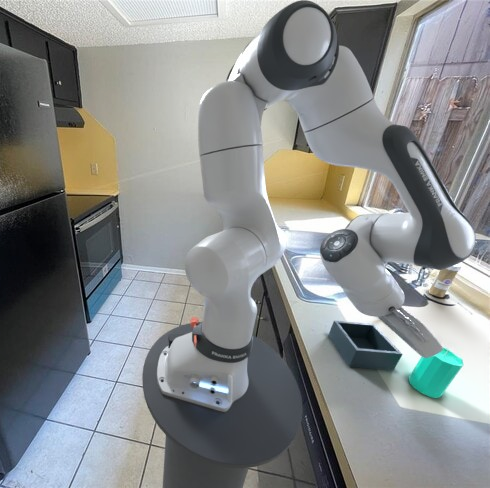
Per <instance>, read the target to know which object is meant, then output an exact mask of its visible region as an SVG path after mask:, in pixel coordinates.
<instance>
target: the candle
mask: <svg viewBox="0 0 490 488" xmlns="http://www.w3.org/2000/svg"><path fill="white" fill-rule="evenodd" d="M463 366H464V362H463V358H461V357H460V356H458V355H457V354H455V353H454V352H452V351H451V350H449V349H448V348H446V347H443V350H442V351H441V352H440V353H438V354H436V355H434V356H432V357H429V358H424V357H422V356H420V358H419V360H418V362H417V363H416V365H415V367H414V368H413V369H412V371H411V373H410V374H409V376H408V382H409V384H410V385H411V386H412V387H413V388H414V389H415V390H416V391H418V392H419V393H421V394H423V395H424V396H427V397H429V398H433V399H434V398H435V399H439V398H441V397H442V396H443V394H444V393H445V392H446V390H447V389H448V388H449V386H450V384H452V381H454V379H455V378H456V376H457V375H458V373H459V372H460V371H461V369H462V368H463Z"/></svg>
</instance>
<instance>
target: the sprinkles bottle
mask: <svg viewBox="0 0 490 488" xmlns="http://www.w3.org/2000/svg"><path fill="white" fill-rule="evenodd" d="M461 268H462V266H461V265H460V264H459V263H458V264H456V265H454V266H452V267H449V268H446V269H443V270H438V273H437V274H436V277H435V278H434V279H433V282H432V283H431V286H430V288H429V290H428V293H429V294H430V295H432V296H433V297H434V296H435V297H437V298H444V297H445V295H446V293H447V291H448V290H449V289H450V287H451V285H452V283H453V281H454V279H455V278H456V276H457V274H458V272H460V270H461Z"/></svg>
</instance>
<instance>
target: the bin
mask: <svg viewBox="0 0 490 488" xmlns="http://www.w3.org/2000/svg"><path fill="white" fill-rule="evenodd" d="M327 336H328V338H329V339H330V341H331V342H332V344H333V345H334V347H335V348H336V350H337V351H338V352H339V355H340V356H341V357H342V358H343V360H344V361H345V363H346V364H347V366H348V367H349V368H361V369H371V370H382V371H391V372H394V370H395V369H396V367H397V365H398V363H399V362H400V360H401V358H402V356H403V353H402V352H401V351H400V349H398V348H397V347H396V346H395V344H394V343H392V341H391V340H390V339H388V337H387V336H386V335H385V334H384V333H383V332H382V331H381V330H380V329H379V328H378V327H377V325H375V324H374V323H368V322H355V321H343V320H333V322H332V324H331V327H330V330H329V333H328V334H327Z"/></svg>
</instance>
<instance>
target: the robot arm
mask: <svg viewBox="0 0 490 488" xmlns="http://www.w3.org/2000/svg"><path fill="white" fill-rule="evenodd" d="M335 26H336V25H335V23H334V22H333V20H332V18H331V16H330V15H329V13H328V12H327V11H326V10H325V8H323V7H321V5H319V4H318V3H316V2H314V1H311V0H297V1H294V2H292V3H290V4H288V5H286V6H285V7H283V8H282V9H280V10H279V11H278V12H276V13H275V14H274V15H273V16H272V17H271V18H270V19H269V20H268V21H267V22H266V23H265V24H264V26H263V28H262V29H261V30H260V31H259V32H258V33H257V34H256V35H255V37H253V39H252V40H250V41H249V42H248V44H247V45H246V46H245V47H244V49H243V50H242V52H241V53H240V55H239V56H238V58H237V60H236V61H235V62H234V64H233V65H232V66H231V68H230V70H229V72H228V74H227V77H226V80H225V81H222V82H218V83H216V84H215V85H213V86H211V87H210V88H209V89H207V90H206V91H205V93H204V94H203V95H202V97H201V99H200V102H199V105H198V115H197V116H198V117H197V142H198V155H199V164H200V165H199V166H200V173H201V182H202V189H203V190H202V191H203V197H204V199H205V201H206V202H207V203H208V204H209V205H210V206H212V207H213V208H215V210H216V211H217V214H218V215H219V217H220V220H221V222H222V227H223V230H221V231H219V232H216V233H213V234H211V235H208V236H206V237H205V238H203V239H202V240H200V241H199V242H198V243H196V244H195V245H194V246H193V247H192V248H191V249H189V250H188V252H187V254H186V256H185V260H184V271H185V272H184V273H185V277H186V278H187V280H188V283H189V284H190V285H191V287H192V288H193V289H194V290H195V291H196V292H197V293H198V294H200V295H202V297H203V313H202V321H200V320H199V318H198V317H197V316H192V317H191V318H190V323H191V327H192V328H193V331H192V332H191V333H188V334H185V335H184V334H169V339H168V341H169V346H167V347H166V348H165V349H164V350H163V351H162V353H161V355H160V358H159V361H158V367H157V382H158V386H159V389H160V391H161V392H162V394H164V395H167V396H171V397H174V398H177V399H181V400H184V401H188V402H191V403H194V404H198V405H201V406H205V407H208V408H211V409H215V410H218V411H222V412H226V411H228V410H229V408H230V407H231V405H232V403H233V402H234V401H235V400H237V399H239V398H240V397H242V396H243V395H244V394H245V392H246V390H247V388H248V382H249V381H248V374H247V360H248V357H249V355H250V352H251V349H252V344H253V336H252V335H253V332H254V327H255V323H256V319H257V315H258V305H257V303H256V301H255V300H254V299H253V297H252V295H251V293H252V288H253V286H254V283H255V282H256V281H257V279H258V278H259V277H260V276H261V275H263V274H265V273H266V272H267V271H269V270H270V269H272V268H273V267H274V266H276V265H277V264H278V262H279V261H280V259H281V258H282V257H283V255H284V253H285V252H286V249H287V244H288V241H287V235H286V233H285V231H284V230H283V229H282V227H281V226H280V225H278V224H277V221H276V219H275V216H274V214H273V213H274V212H273V210H272V207H271V204H270V200H269V196H268V192H267V185H266V173H265V162H264V161H265V160H264V159H265V158H264V146H263V145H264V144H263V134H262V119H263V116H264V115H263V114H264V112H265V111H266V110H267V109H269V108H271V107H273V106H276V105H278V104H281V103H282V102H286V104H287V105H289V106H291V107H292V108H293V109H294V111H295V112H296V114H297V117H298V120H299V123H300V126H301V128H302V129H301V130H302V131H303V134H304V135H303V136H304V137H305V140H306V142H307V143H306V144H307V145H308V147H309V149H310V151H311V152H312V153H313V155H314V156H315V158H317V159H318V160H320V161H322V162H324V163H326V164H329V165H333V166H337V167H349V168H358V169H363V170H367V171H371V172H374V173H377V174H379V175H381V176H382V177H385V178H386V179H388V180H389V182H391V184H392V185H393V187H394V189H395V190H396V192H397V194H398V196H399V198H400V199H401V201H402V203H403V205H404V206H405V209H406V210H407V212H393V213H391V212H384V213H383V212H381V213H380V212H379V213H365V214H359V215H357V216H356V217H354V218H353V219H352V220H351V221H350V222H349V223H348V224H347V225H346V227H344V228H341V229H337V230H334V231H332V232H331V233H329V234H328V235H327V236H326V237H325V238H323V240H322V242H321V244H320V245H319V255H320V259H321V262H322V264H323V267H324V268H325V270H326V271H327V273H328V274H329V276H330V277H331V279H333V281H334V282H335V284H337V286H339V287H340V288H341V289H342V292H343V293H344V295H345V296H346V298H347V299H348V301H350V303H351V304H352V305H353V307H354V308H355V310H357V311H358V312H359V313H361V314H363V315H365V316H369V317H377V318H378V320H380V321H381V322H382V323H383V324H384V325H385V326H387V327H388V329H390V330H391V331H392V332H393V333H395V334H396V335H397V337H399V338H400V339H401V340H402V341H403V342H405V343H406V344H407V345H408V346H409V347H410V348H411V349H412V350H413V351H415V352H416V353H417V354H418V355H419V356H420V357H424V358H429V357H432V356H434V355H436V354H438V353H440V352H441V351H442V350H443V348H444V347H443V345H442V344H441V343H440V342H439V341H438V339H437V338H436V337H435V335H434V334H433V332H432V331H431V330H430V329H429V328H428V327H427V326H426V325H425V324H424V323H423V322H422V321H421V320H419V319H418V318H417V317H415V315H413V314H411V313H410V312H409V311H408V310H406V309H405V308H404V307H403V305H404V303H405V299H406V296H405V293H404V290H403V289H402V287H401V286H400V285H399V283H398V282H397V280H396V279H395V278H394V276H393V275H392V273H390V271H388V270H387V265H388V264H389V263H394V264H395V263H396V264H405V265H412V266H416V267H421V268H426V269H430V270H437V271H440V270H443V269H446V268H449V267H452V266H454V265H456V264H458V265H459V264H460V263H462V262H464V261H465V260H467V259H468V258H470V257H471V256H472V255H473V253H474V251H475V248H476V243H477V242H476V241H477V238H476V237H477V236H476V232H475V229H474V226H473V225H472V223H471V221H470V220H469V219H468V217H466V216H465V214H464V213H463V212H462V211H461V210H460V209H459V207H458V206H457V205H456V203H455V201H454V200H453V198H452V196H451V195H450V193H449V191H448V189H447V187H446V185H445V184H444V182H443V180H442V178H441V176H440V174H439V172H438V171H437V169H436V168H435V166H434V164H433V162H432V160H431V159H430V157H429V155H428V153H427V151H426V149H425V148H424V147H423V145H422V143H421V141H420V140H419V139H418V136H416V134H415V133H414V132H413V130H411V129H410V128H409V127H408V126H406V125H401V124H396V123H394V122H393V121H391V120H390V119H389V118H388V117H386V116H385V114H384V113H383V112H382V111H381V110H380V108H379V107H378V104H377V103H376V100H375V98H374V94H373V91H372V89H371V85H370V83H369V81H368V79H367V76H366V74H365V72H364V70H363V68H362V67H361V64H360V63H359V61H358V58H356V56H355V55H354V53H353V51H351V49H350V48H348V46H347V47H346V46H345V45H340V41H339V36H338V34H337V33H338V32H337V30H336V29H337V28H336V27H335ZM401 306H402V307H401ZM198 322H201V323H200V324H199V323H198ZM161 381H163V382H161ZM216 403H219V404H216Z"/></svg>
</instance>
